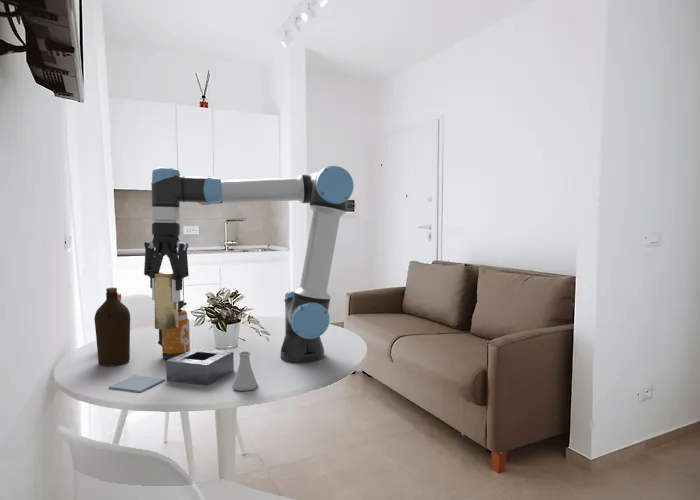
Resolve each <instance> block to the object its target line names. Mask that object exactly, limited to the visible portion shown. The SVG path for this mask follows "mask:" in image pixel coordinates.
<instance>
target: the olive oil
mask: <svg viewBox="0 0 700 500" xmlns="http://www.w3.org/2000/svg"><path fill="white" fill-rule="evenodd" d="M105 291H106V293H105V301H104V302H103V303H102V304H101V305H100V306H99V307H98V308H97V309H96V311H95V315H94V319H93V320H94V329H95V339H96V351H97V363H98V365H99V366H101V367H117V366H121V365H125V364H126V363H129V362H130V360H131V359H130V358H131V355H130V354H131V352H130V351H131V350H130V349H131V348H130V346H131V345H130V344H131V313H130V311H129V308H128V307H127V305H125V304H124V303H123V302H122V301H119V300H118V294H117V293H118V288H117V287H107V288H106V289H105Z"/></svg>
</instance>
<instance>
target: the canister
mask: <svg viewBox="0 0 700 500" xmlns="http://www.w3.org/2000/svg"><path fill="white" fill-rule="evenodd" d="M185 306H187V302H184V300H180V301H178V327H177V328H174V329H166V330H160V329H158V342H157V344H158V345H160V347H161V351H162V353H161V354H162V358H164V359H167V360H169V359H171V358H174V357H176V356H178V355H181V354H183V353H185V352H188V351H190V350H191V344H190V342H191V339H190V319H189V318H188V312H187V310H185V309H183V308H184V307H185Z"/></svg>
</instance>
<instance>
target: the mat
mask: <svg viewBox="0 0 700 500" xmlns="http://www.w3.org/2000/svg"><path fill="white" fill-rule="evenodd" d="M165 381H166V378H162V377H151V376H146V375H136V374H135V375H132V376H130V377H128V378H126V379H123V380H121V381H118V382H116V383H114V384H112V385H109V386H108V389H111V390H119V391H127V392H134V393H142V392H144V391H146V390H149V389H151V388H154V387H156V386H157V385H158V384H159V385H160V384H161V383H163V382H165Z"/></svg>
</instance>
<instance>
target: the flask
mask: <svg viewBox="0 0 700 500" xmlns="http://www.w3.org/2000/svg"><path fill="white" fill-rule="evenodd" d="M238 355H239V365H238V369H237V371H236V375H235V378H234V381H233V383H232V390H233V391H239V392H245V391H252V390H255V389H256V388H258V387H259V386H258V383H257V380H256V377H255V374H254V372H253V368H252V365H251V362H250V355H251V352H250V351H247V350H244V351H240V352H238Z"/></svg>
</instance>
